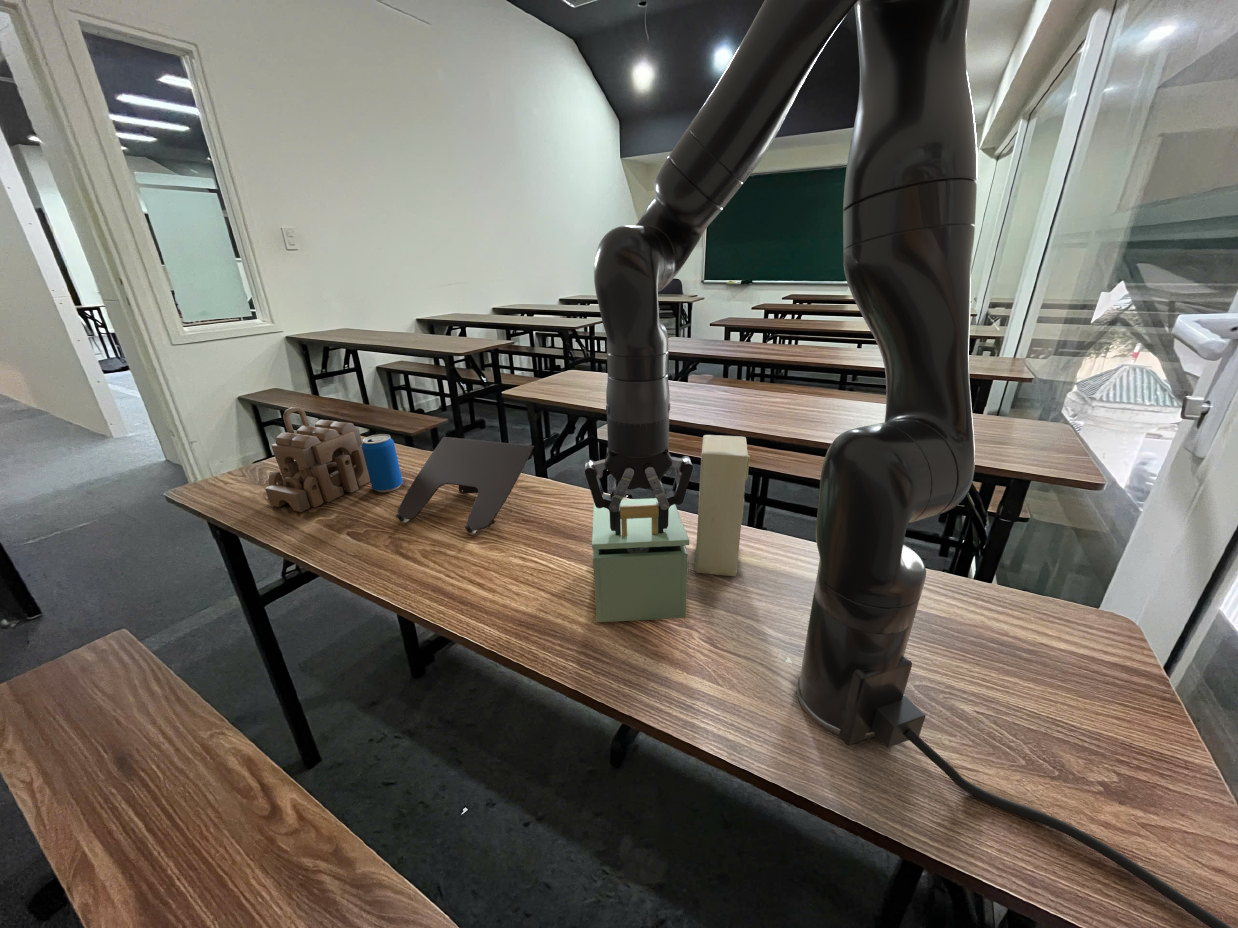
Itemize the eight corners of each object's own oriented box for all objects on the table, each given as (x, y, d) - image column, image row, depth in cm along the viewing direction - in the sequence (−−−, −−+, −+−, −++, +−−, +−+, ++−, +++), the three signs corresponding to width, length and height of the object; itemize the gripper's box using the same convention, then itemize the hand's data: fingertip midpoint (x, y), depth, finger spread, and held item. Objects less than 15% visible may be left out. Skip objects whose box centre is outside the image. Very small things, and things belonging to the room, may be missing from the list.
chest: (685, 618, 68) (688, 554, 63) (596, 622, 67) (592, 558, 63) (671, 558, 81) (672, 502, 77) (597, 561, 81) (593, 505, 76)
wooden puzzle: (308, 514, 99) (280, 429, 91) (261, 503, 104) (231, 422, 96) (391, 472, 118) (373, 399, 110) (347, 465, 123) (327, 394, 115)
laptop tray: (404, 539, 100) (381, 514, 93) (456, 457, 114) (439, 430, 107) (501, 556, 93) (483, 530, 86) (543, 466, 107) (531, 438, 100)
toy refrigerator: (741, 578, 76) (753, 455, 67) (694, 573, 77) (700, 453, 69) (740, 550, 83) (750, 436, 74) (697, 546, 84) (702, 434, 76)
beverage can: (375, 483, 112) (362, 435, 107) (404, 479, 113) (394, 432, 109) (370, 495, 106) (357, 445, 101) (402, 491, 108) (390, 441, 103)
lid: (689, 545, 62) (689, 509, 60) (592, 549, 62) (590, 514, 60) (672, 502, 77) (672, 472, 75) (593, 505, 76) (592, 475, 75)
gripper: (691, 399, 61) (686, 514, 68) (579, 403, 61) (586, 518, 68) (703, 419, 54) (696, 544, 61) (577, 423, 54) (585, 549, 61)
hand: (638, 530), depth 65 cm, fingers closed on lid, 5 cm apart
